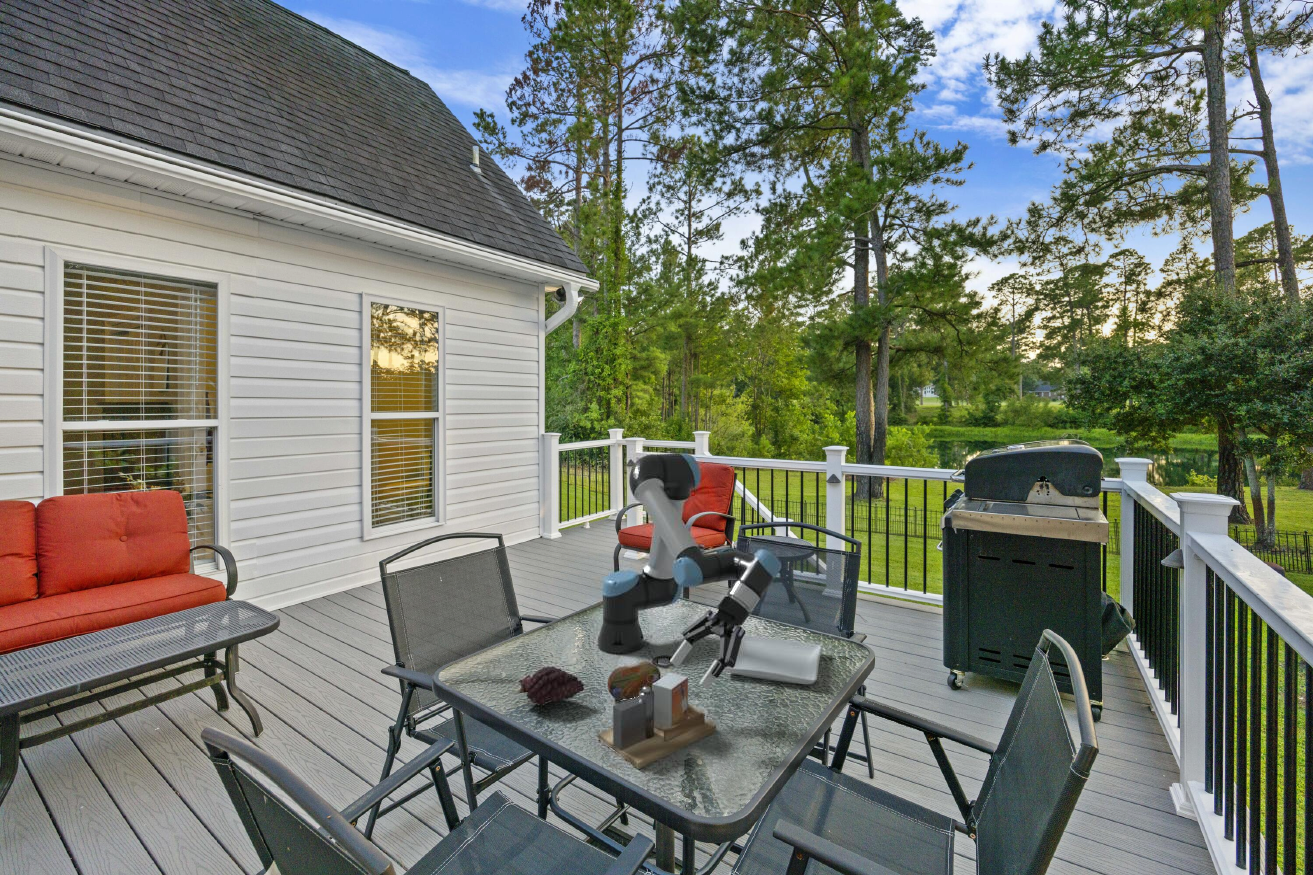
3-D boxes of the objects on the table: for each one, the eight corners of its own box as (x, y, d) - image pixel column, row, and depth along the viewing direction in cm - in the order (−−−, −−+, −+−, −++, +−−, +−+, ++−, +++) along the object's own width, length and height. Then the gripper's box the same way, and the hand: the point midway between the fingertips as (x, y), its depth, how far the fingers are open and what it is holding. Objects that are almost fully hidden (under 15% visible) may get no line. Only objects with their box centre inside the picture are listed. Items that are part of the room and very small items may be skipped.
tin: (610, 704, 158) (610, 672, 157) (605, 699, 160) (605, 668, 160) (661, 691, 164) (661, 661, 164) (655, 686, 167) (655, 657, 167)
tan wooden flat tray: (598, 740, 140) (598, 723, 140) (674, 707, 156) (674, 692, 156) (637, 769, 129) (637, 751, 129) (716, 730, 144) (716, 714, 144)
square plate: (816, 693, 164) (816, 679, 164) (718, 678, 173) (718, 665, 173) (822, 654, 190) (822, 642, 190) (737, 643, 199) (737, 632, 199)
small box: (671, 733, 140) (671, 689, 140) (651, 726, 143) (651, 683, 143) (688, 718, 147) (688, 676, 147) (669, 712, 150) (669, 671, 150)
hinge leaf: (612, 744, 136) (612, 695, 135) (647, 728, 143) (647, 682, 142) (622, 751, 133) (621, 701, 133) (657, 734, 140) (657, 687, 139)
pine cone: (587, 696, 161) (587, 660, 161) (579, 715, 151) (579, 677, 151) (523, 694, 163) (522, 658, 162) (511, 712, 153) (510, 674, 152)
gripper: (778, 628, 143) (727, 705, 137) (717, 598, 165) (671, 663, 158) (761, 610, 140) (707, 688, 134) (701, 582, 162) (653, 648, 155)
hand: (687, 675), depth 146 cm, fingers open, 13 cm apart
